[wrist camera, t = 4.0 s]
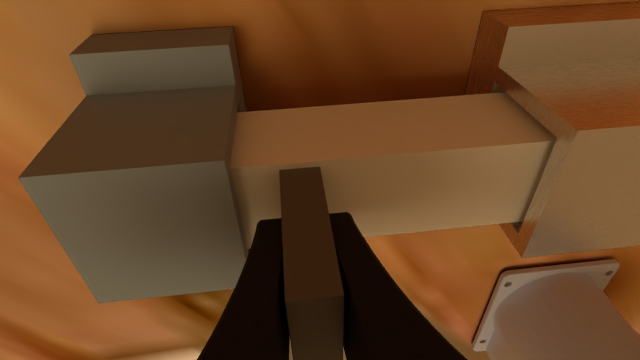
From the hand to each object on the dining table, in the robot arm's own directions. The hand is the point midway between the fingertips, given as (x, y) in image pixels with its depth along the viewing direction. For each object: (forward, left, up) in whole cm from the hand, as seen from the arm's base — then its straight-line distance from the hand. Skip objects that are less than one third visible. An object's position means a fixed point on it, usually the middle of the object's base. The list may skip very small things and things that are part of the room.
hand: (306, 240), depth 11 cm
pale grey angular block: (0, -2, -5) cm, 5 cm away
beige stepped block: (0, -12, -7) cm, 14 cm away
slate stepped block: (0, +4, -7) cm, 8 cm away
